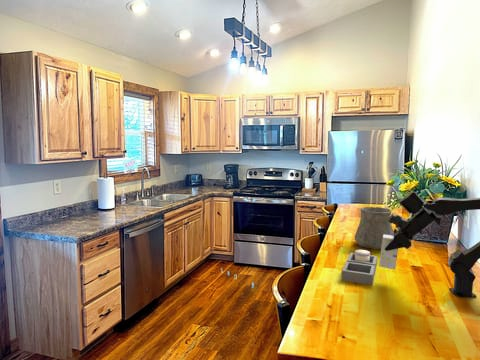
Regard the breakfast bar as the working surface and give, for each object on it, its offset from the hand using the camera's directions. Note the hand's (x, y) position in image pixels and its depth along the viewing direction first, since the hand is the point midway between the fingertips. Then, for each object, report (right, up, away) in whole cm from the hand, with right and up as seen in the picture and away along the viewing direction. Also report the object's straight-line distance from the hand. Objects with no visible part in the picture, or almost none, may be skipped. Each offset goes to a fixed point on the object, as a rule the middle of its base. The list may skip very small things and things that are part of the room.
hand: (385, 248), depth 139 cm
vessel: (+12, -8, +47) cm, 50 cm away
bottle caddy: (-6, -12, +11) cm, 18 cm away
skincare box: (+1, -7, +1) cm, 8 cm away
